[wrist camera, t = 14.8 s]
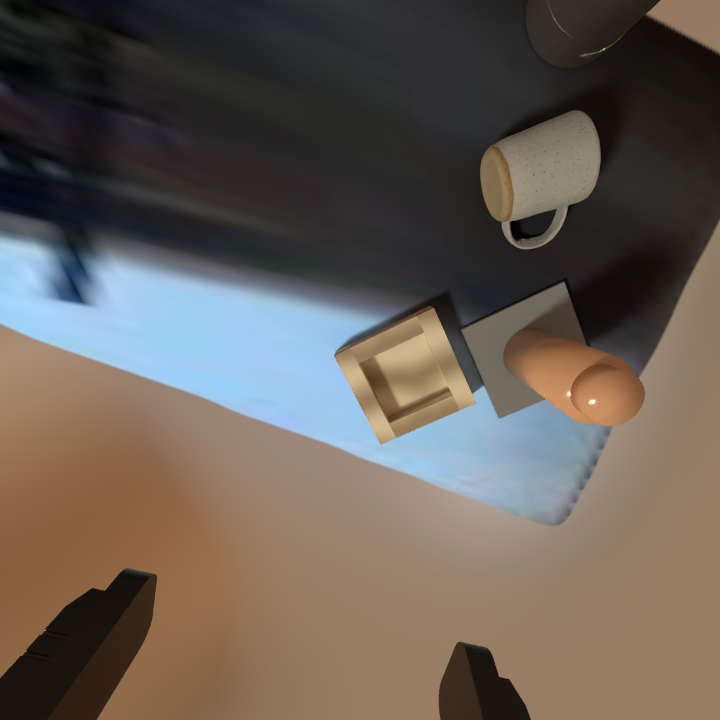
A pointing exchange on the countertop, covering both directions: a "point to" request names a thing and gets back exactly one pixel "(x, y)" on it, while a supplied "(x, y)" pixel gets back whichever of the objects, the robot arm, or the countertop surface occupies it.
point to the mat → (496, 330)
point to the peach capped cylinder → (575, 377)
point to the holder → (405, 375)
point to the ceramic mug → (541, 172)
